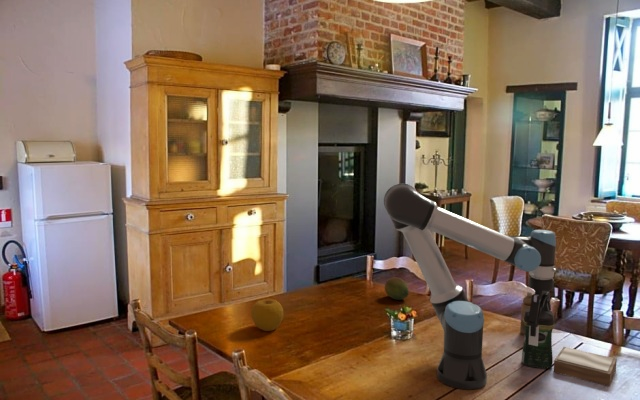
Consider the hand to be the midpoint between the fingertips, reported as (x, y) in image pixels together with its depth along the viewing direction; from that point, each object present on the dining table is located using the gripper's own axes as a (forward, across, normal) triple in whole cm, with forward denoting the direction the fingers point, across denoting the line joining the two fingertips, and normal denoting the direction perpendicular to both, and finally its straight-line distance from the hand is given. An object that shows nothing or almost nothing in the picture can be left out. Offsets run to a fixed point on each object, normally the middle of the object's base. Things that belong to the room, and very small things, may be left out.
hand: (538, 338), depth 170 cm
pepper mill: (+9, +26, +10) cm, 29 cm away
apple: (+8, -32, +94) cm, 100 cm away
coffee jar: (+9, 0, 0) cm, 9 cm away
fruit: (+9, +35, +72) cm, 81 cm away
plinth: (+9, +4, -14) cm, 17 cm away
